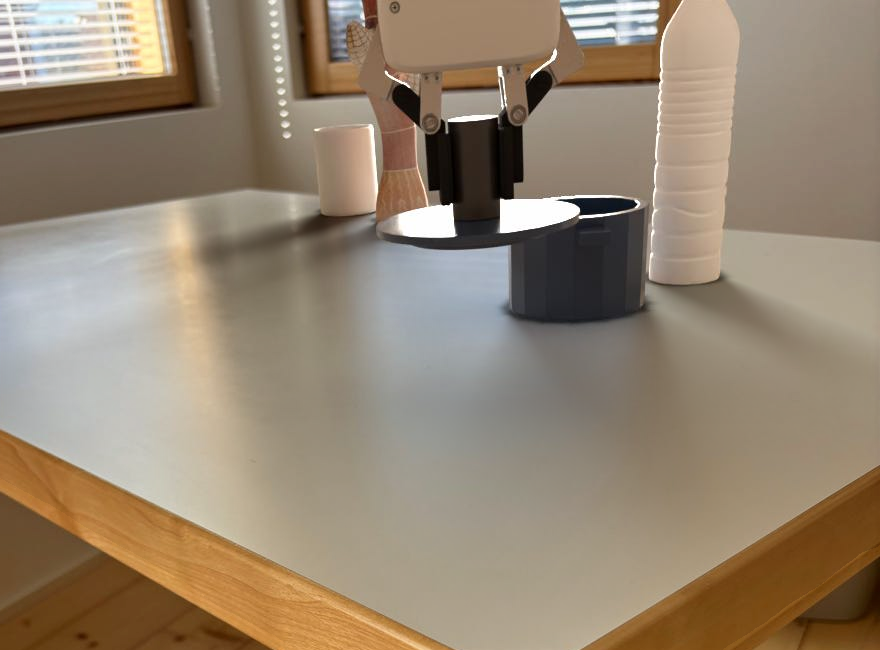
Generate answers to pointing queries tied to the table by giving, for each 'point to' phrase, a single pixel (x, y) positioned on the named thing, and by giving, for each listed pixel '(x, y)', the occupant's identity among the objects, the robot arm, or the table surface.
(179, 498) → the table surface
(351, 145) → the mug
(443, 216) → the lid
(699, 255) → the water bottle
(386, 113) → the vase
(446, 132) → the robot arm
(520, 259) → the pot
